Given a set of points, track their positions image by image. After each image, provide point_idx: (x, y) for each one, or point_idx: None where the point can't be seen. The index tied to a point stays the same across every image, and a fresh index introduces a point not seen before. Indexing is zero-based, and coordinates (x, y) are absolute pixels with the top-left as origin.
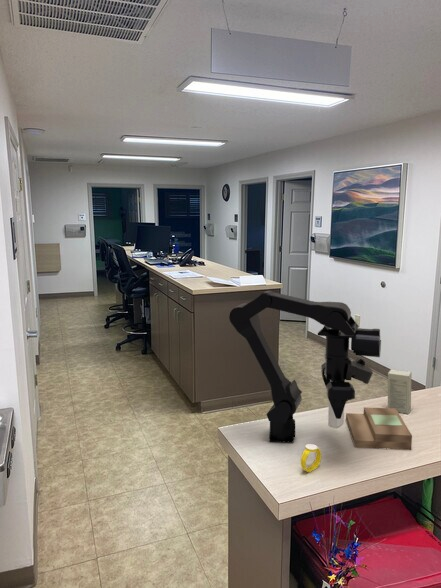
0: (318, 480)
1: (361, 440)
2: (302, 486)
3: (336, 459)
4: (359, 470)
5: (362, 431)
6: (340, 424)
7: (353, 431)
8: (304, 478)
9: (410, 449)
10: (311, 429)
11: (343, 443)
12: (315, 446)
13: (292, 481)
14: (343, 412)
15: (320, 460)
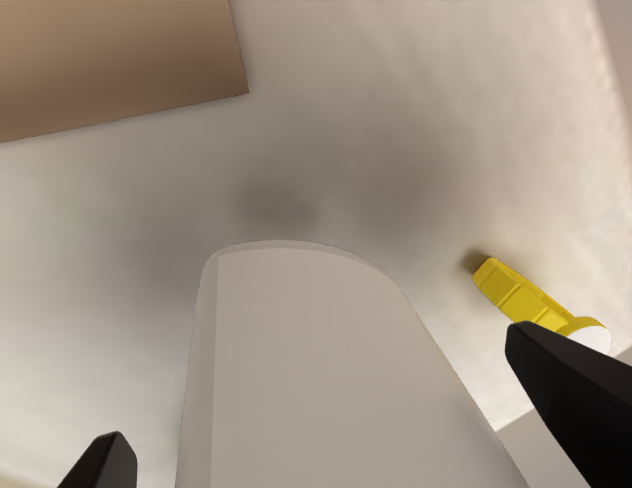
0: (578, 236)
1: (234, 38)
2: (608, 280)
3: (410, 185)
4: (509, 50)
5: (46, 26)
6: (360, 264)
7: (93, 112)
8: (561, 285)
9: None
10: (114, 353)
11: (215, 164)
12: (579, 335)
13: (575, 315)
14: (315, 312)
15: (495, 262)
